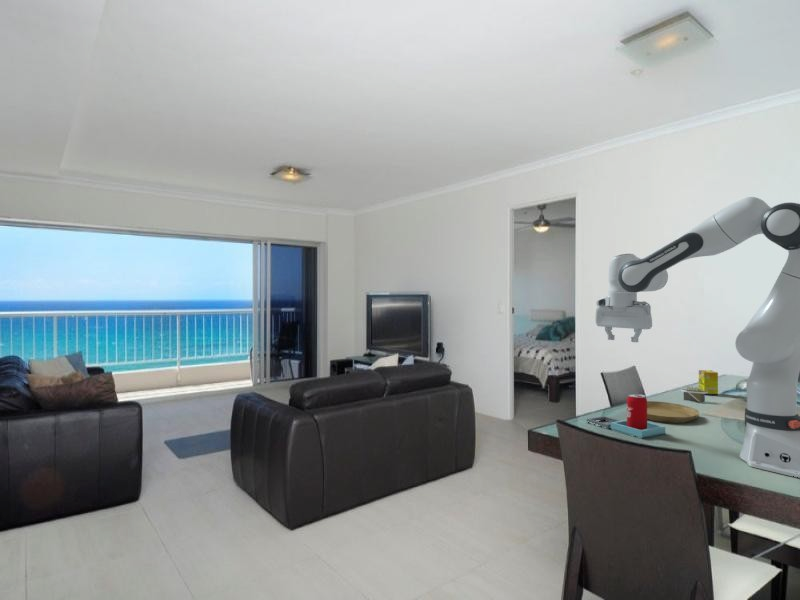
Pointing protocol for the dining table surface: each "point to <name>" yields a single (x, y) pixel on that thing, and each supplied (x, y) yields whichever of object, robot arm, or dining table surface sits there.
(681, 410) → the plant saucer
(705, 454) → the dining table surface
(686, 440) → the dining table surface
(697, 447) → the dining table surface
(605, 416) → the socket
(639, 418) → the beverage can
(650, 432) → the tray
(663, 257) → the robot arm
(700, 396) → the platform
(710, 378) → the supplement box
